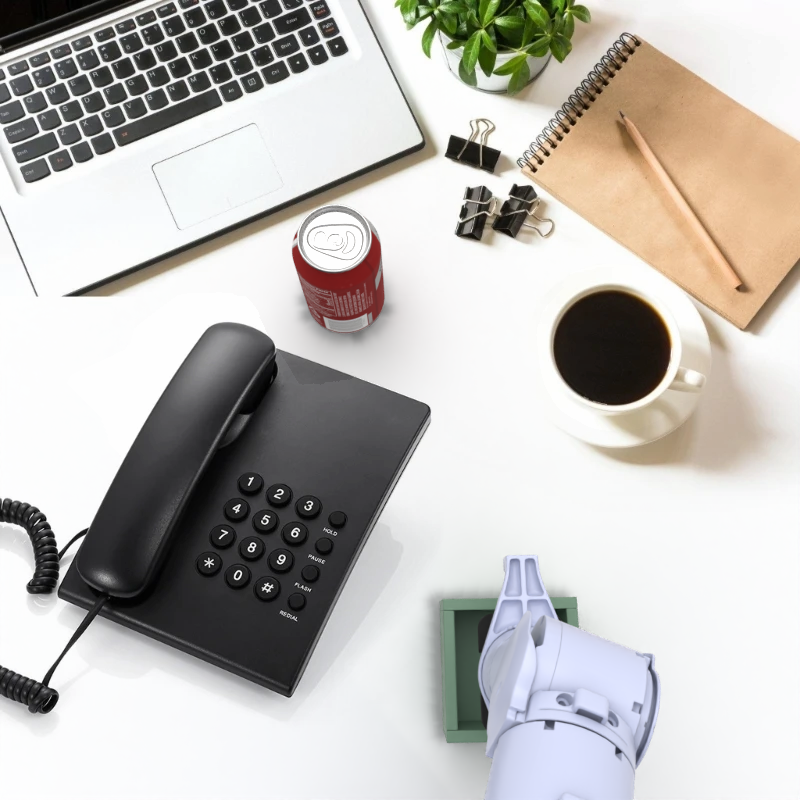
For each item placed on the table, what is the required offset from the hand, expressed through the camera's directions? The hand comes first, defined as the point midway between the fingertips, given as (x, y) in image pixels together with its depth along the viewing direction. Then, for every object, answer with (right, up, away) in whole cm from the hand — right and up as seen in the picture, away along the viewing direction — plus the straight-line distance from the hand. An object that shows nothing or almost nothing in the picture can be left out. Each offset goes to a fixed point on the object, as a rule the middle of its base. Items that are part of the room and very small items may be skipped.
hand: (510, 667), depth 58 cm
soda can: (-13, +28, +13) cm, 33 cm away
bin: (0, -1, +4) cm, 5 cm away
